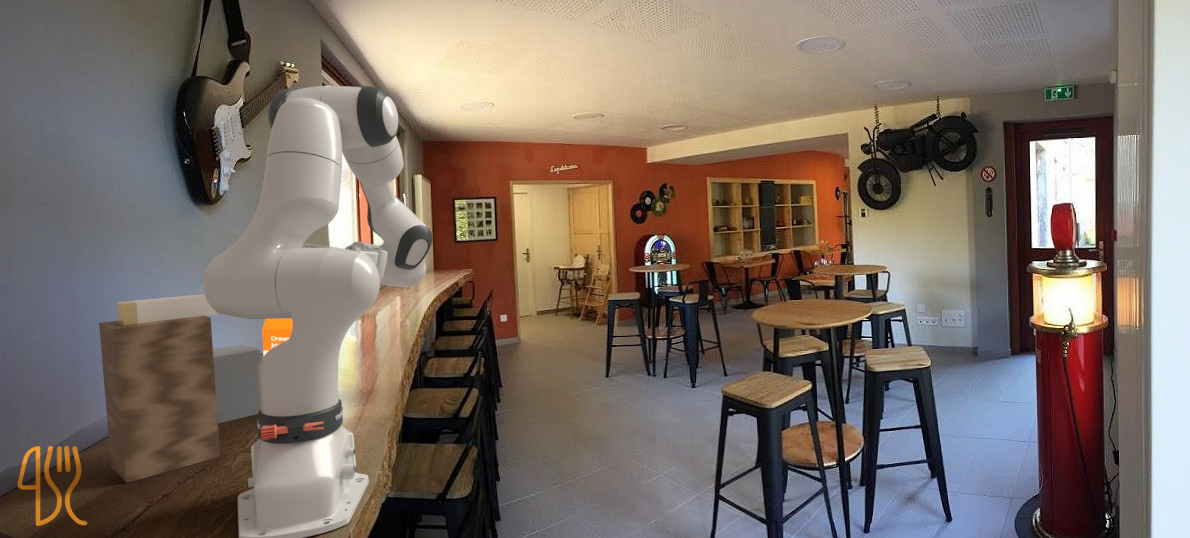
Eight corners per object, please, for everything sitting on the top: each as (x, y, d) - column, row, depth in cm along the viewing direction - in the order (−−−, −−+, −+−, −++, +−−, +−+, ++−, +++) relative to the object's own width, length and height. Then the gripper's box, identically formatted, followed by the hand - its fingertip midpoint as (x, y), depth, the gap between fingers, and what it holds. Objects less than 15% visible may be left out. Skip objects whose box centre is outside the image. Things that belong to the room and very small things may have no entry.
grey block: (246, 404, 143) (242, 344, 142) (264, 412, 137) (260, 349, 135) (198, 415, 135) (193, 351, 134) (214, 424, 129) (210, 357, 128)
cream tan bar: (243, 308, 119) (242, 290, 119) (251, 310, 117) (250, 291, 117) (118, 322, 104) (116, 302, 104) (123, 325, 102) (121, 304, 102)
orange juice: (297, 381, 163) (292, 308, 161) (264, 381, 163) (260, 308, 161) (311, 374, 171) (307, 304, 169) (280, 374, 171) (276, 304, 169)
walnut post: (201, 444, 118) (191, 312, 115) (220, 456, 111) (210, 317, 109) (111, 467, 107) (99, 322, 105) (126, 483, 100) (113, 328, 98)
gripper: (337, 244, 143) (280, 231, 131) (392, 252, 131) (335, 239, 120) (331, 270, 142) (274, 260, 131) (386, 280, 131) (329, 270, 120)
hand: (304, 250), depth 125 cm, fingers open, 8 cm apart
